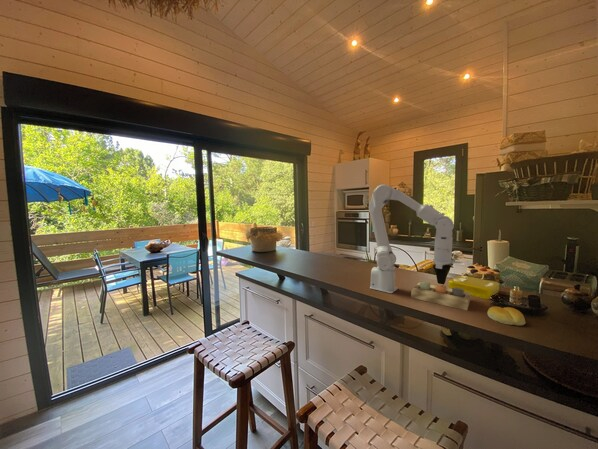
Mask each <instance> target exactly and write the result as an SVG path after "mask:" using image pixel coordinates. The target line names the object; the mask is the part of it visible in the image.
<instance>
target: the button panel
mask: <svg viewBox="0 0 598 449" xmlns="http://www.w3.org/2000/svg"><path fill="white" fill-rule="evenodd" d="M435 287H436V285H434V284H430V291H428V290H424V289H420V282H418V283H417V284H416V285H415V286H414V287H413V288H412V289H411V290H410V292H411V293H410V298H412V299H416V300H421V301H424V302H427V303H428V302H429V303H433V304H438V305H442V306H446V307H450V308H451V307H452V308H454V309H459V310H463V311H468V309H469V305H470V302H471V292H466V291H464V297H458V296H453V295H452V289H450V288H448V287H446V294H443V293H438V292H435Z"/></svg>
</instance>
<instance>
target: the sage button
mask: <svg viewBox="0 0 598 449" xmlns="http://www.w3.org/2000/svg"><path fill="white" fill-rule="evenodd" d="M419 283H420V289H424V290H428V291H430V285H431V283H430V282H428V281H420V282H419Z"/></svg>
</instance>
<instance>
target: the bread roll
mask: <svg viewBox="0 0 598 449" xmlns="http://www.w3.org/2000/svg"><path fill="white" fill-rule="evenodd" d="M486 313H487V316H488V318H490V319H492V320H493V321H495V322H498V323H501V324H504V325H511V326H516V327H517V326H524V325H526V323H527V322H526V319H525V316H524V314H523V313H522V312H521V311H520V310H518V309H517V308H514V307H510V306H505V307H501V306H495V305H494V306H491V307H489V308H488V310H487V312H486Z"/></svg>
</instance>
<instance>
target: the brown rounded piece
mask: <svg viewBox="0 0 598 449" xmlns="http://www.w3.org/2000/svg"><path fill="white" fill-rule="evenodd" d="M435 286H436V287H435V292H438V293H443V294H446V288H447V286H446V285H445V284H444V285H443V284H435Z"/></svg>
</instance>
